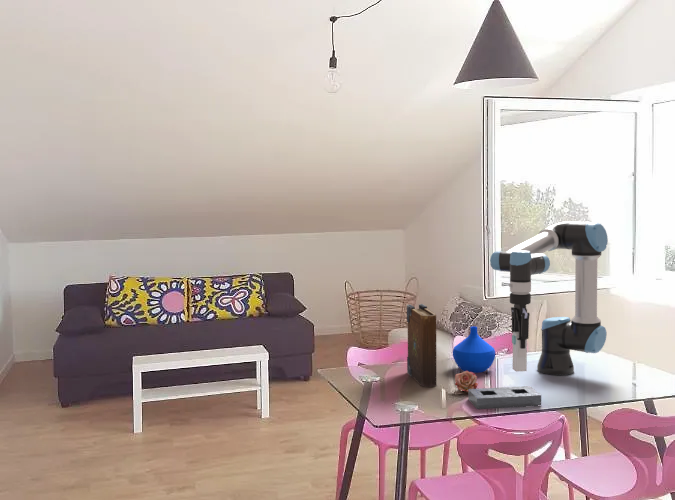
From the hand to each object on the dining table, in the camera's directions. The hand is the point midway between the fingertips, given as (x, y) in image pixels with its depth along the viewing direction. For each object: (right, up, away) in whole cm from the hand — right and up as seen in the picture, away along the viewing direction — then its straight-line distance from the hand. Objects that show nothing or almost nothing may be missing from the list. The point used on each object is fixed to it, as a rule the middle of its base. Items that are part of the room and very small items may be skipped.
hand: (519, 355), depth 277 cm
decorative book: (-32, -16, +36) cm, 51 cm away
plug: (0, -6, +1) cm, 6 cm away
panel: (-5, -18, +1) cm, 19 cm away
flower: (-17, -17, +16) cm, 29 cm away
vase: (-8, -14, +49) cm, 52 cm away
